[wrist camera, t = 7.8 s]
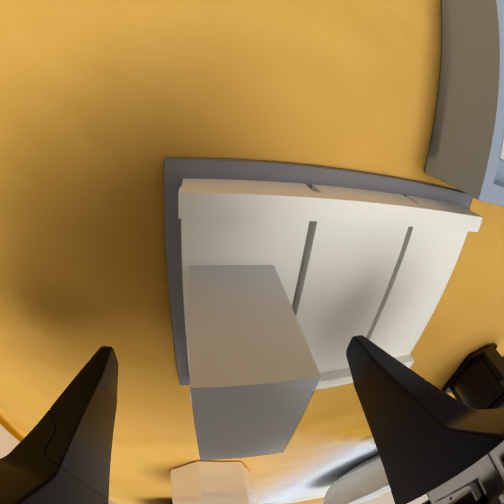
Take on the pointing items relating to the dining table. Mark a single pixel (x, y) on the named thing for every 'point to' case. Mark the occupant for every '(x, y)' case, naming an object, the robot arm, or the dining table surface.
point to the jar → (212, 483)
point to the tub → (471, 100)
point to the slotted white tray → (300, 295)
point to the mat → (262, 172)
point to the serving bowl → (359, 484)
